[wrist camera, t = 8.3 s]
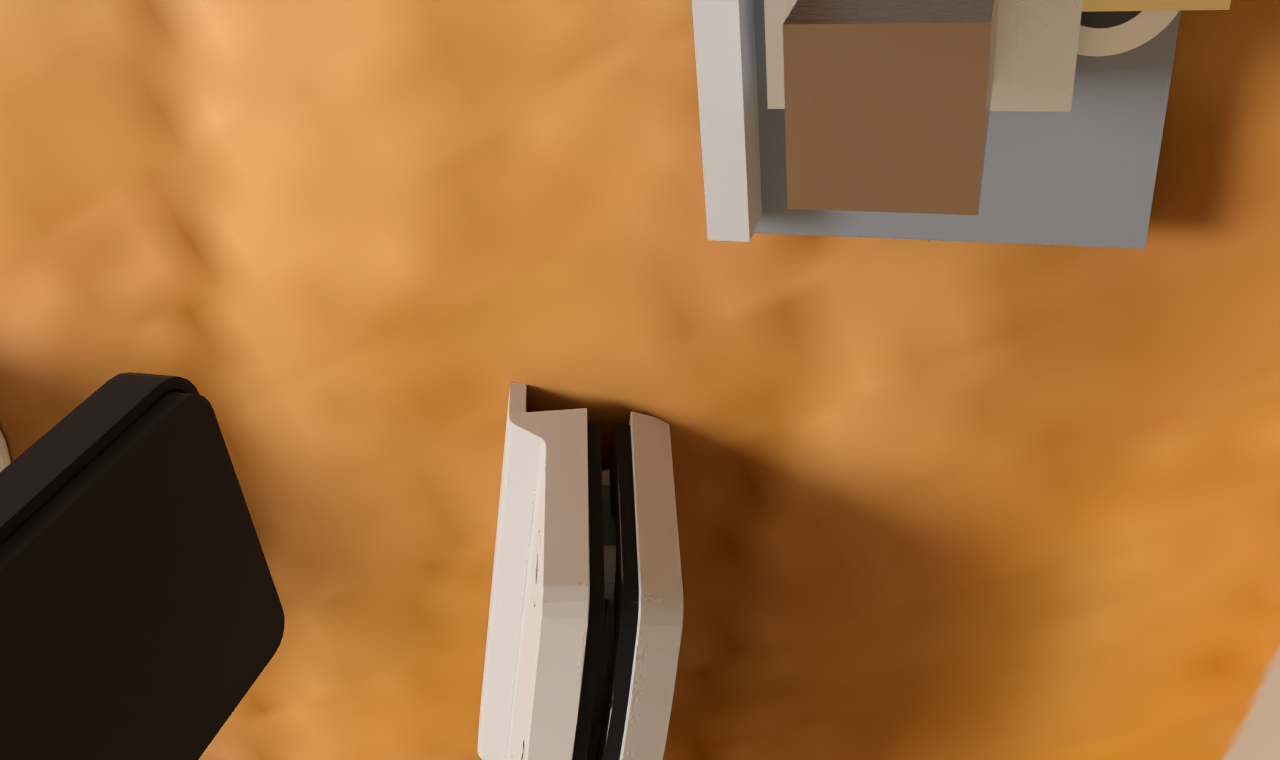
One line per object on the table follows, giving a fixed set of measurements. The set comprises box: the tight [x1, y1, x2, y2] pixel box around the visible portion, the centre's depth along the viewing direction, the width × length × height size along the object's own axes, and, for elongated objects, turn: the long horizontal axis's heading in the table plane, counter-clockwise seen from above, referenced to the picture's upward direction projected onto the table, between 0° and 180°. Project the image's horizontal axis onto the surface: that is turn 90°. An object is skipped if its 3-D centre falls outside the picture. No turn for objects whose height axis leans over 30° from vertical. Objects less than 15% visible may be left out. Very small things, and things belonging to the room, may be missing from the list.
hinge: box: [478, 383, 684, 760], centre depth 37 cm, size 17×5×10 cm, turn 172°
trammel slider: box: [764, 0, 1231, 215], centre depth 21 cm, size 4×9×8 cm, turn 96°
